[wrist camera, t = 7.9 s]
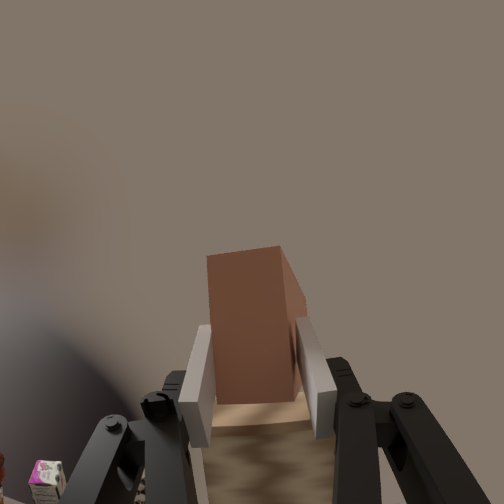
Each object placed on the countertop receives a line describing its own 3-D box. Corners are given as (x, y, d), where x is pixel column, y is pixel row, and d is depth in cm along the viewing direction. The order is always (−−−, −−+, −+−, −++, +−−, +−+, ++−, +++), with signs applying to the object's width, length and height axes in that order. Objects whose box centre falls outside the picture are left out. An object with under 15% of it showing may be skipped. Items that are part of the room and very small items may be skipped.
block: (217, 404, 16) (206, 255, 18) (279, 365, 38) (273, 301, 40) (294, 401, 15) (279, 245, 17) (311, 362, 37) (305, 298, 40)
